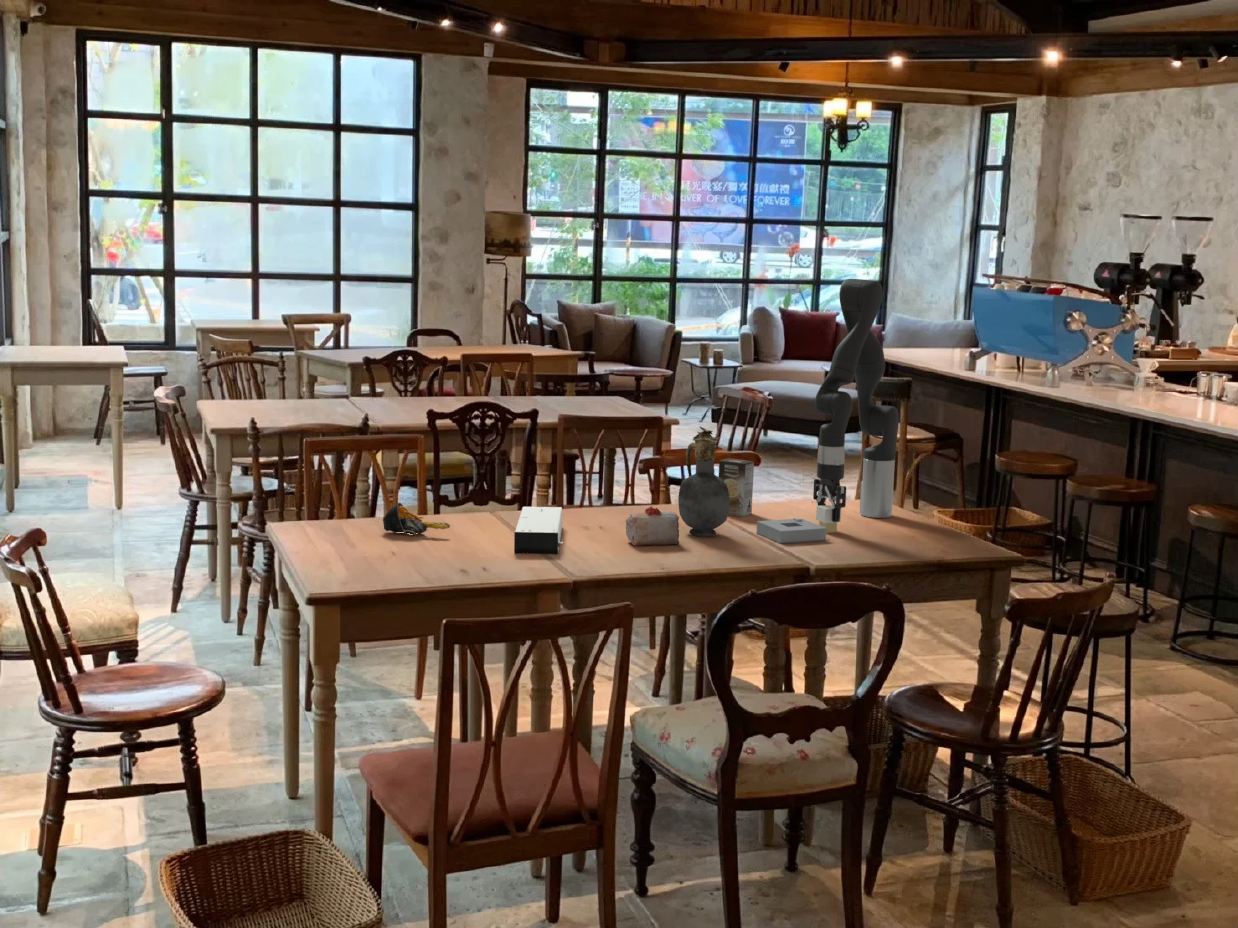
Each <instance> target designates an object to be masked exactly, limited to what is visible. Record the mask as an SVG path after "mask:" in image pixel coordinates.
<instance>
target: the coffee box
mask: <svg viewBox="0 0 1238 928" xmlns="http://www.w3.org/2000/svg"><path fill="white" fill-rule="evenodd" d="M754 468H755V461H753V460H746V459H740V458H739V459H738V458H731V457H728V458H725V459H720V460H719V461H718V477H720V478H721V479H722V480H723V481H724V482H725V484H726V485H727V487H728V491H729V499H730V506H729V513H728V516H730V515H732V516H738V517H745V516H748V515H751V514H752V511H753V493H754V491H753V490H754V473H755V472H754V471H755V469H754Z"/></svg>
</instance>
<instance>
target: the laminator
mask: <svg viewBox="0 0 1238 928" xmlns="http://www.w3.org/2000/svg"><path fill="white" fill-rule="evenodd" d="M562 531H563V507H562V506H522V508H521V512H520V514H519V518H518V521H517V524H516V528H515V530H514V534H513V536H514V539H513V541H514V542H513V543H514V546H513V547H514V548H513V549H514V550H513V552H514V553H515V554H525V555H527V554H528V555H529V554H532V555H533V554H535V555H536V554H537V555H541V554H543V555H559V551H560V546H561V545H563V543H564V542H563V541H561V536H562Z"/></svg>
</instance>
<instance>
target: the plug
mask: <svg viewBox="0 0 1238 928" xmlns="http://www.w3.org/2000/svg"><path fill="white" fill-rule="evenodd" d="M832 509H833V507H832V504H826V505H822V506H818V505H816V513H815V514H816V516H815V520H816V521H818V523H819V524H818V525H819V526H822V527H825V528H826V534H828V533H829V534H831V533H837V530H838V523H841V521H842V520H841V519H842V508H841V509H840V521H839V522H833V521H832Z"/></svg>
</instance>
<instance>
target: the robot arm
mask: <svg viewBox="0 0 1238 928" xmlns="http://www.w3.org/2000/svg"><path fill="white" fill-rule="evenodd" d="M883 291H884V290H883V287H882V284H881V283H880V282H878V281H876V280H871V279H870V280H869V279H868V280H867V279H861V278H846V279H845V280H844V281H843V282H842V283H841V285H840V288H839V303H840V309H841V312H842V316H843V320H844V323H845V327H846V332H847V335H846V336H845V337H844V338H843V339H842V341H840V343H839V344H838V346H837V347H836V348H835V350H834V353H833V355H832V360H831V363H830V367H829V371H828V373H827V375H826V377H825V378H824V380H823V382H822V383H821V386H820V387H819V389H818V391H817V393H816V396H815V399H814V406H815V410H816V411H817V412H818V414H821V415H825V416H832V417H833V418H832V420H831V423H824V424H822V425H821V426H820V428H819V439H818V440H819V442H818V443H819V445H818V450H817V463H816V464H817V466H816V477H817V478H814V480H813V494H812V496H813V501H814V500H815V501H816V502H815V503H817V506H822V505H827V504H826V502H827V500H828V501H829V502H830V503H831V504H830V505H832V507H833V509H832V521H833V522H837V523H840V522H839V521H840V509H841V510H842V508H846V502H847V500H846V499H847V486H846V485H844V486H843V485H841V483H840V481H841V480H843V479H844V477H845V460H846V452H845V444H846V442H845V440H846V430H847V427H848V423H849V420H850V417H851V414H852V411H853V405H854V404H853V397H852V395H850V393H848V392H846V391H842V390H841V391H840V390H839V389H840V388H841V387H843V386H848V385H850V384H851V383H852V382H853V381H854V380H855V385H856V393H857V405H858V406H857V408H858V419H859V420H858V421H859V426H860V430H861V432H862V433H863V434H864V435H867V436H873V437H882V438H881V439H882V440H881V442H879V443H878V444H876V445H872V446H870V447H866V448H865V449H864V450H863V459H862V461H863V462H862V481H861V482H860V494H859V495H860V496H859V497H860V499H859V500H860V501H859V513H860V515H861V516H863V517H868V518H875V519H876V518H878V519H881V518H882V519H883V518H884V519H885V518H891V517H892V516H893V504H894V503H893V500H894V499H893V498H894V483H895V465H896V464H895V463H896V460H895V458H896V451H897V443H898V441H897V440H898V432H899V422H900V415H899V411H898V409H897V408H896V406H892V405H884V404H883V405H881V404H875V403H874V402H873V395H874V394H873V393H874V392H875V389H876V387H877V386H878V385H879V382H880V381H881V379H882V378H883V376H884V374H885V370H886V360H885V354H884V348H883V346H882V343H881V342H880V340H879V339H878V338H877V336H876V335H875V333H874V332H873V331H872V327H873V325H874V322H875V320H876V318H877V316H878V313H879V311H880V307H881V304H882V301H883V295H884V294H883V293H884V292H883Z"/></svg>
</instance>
